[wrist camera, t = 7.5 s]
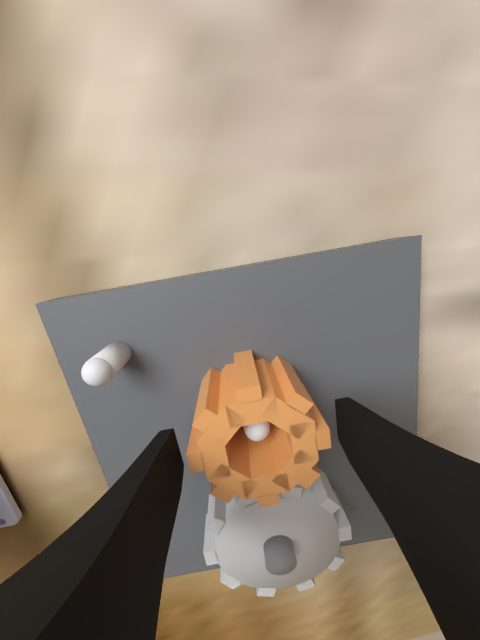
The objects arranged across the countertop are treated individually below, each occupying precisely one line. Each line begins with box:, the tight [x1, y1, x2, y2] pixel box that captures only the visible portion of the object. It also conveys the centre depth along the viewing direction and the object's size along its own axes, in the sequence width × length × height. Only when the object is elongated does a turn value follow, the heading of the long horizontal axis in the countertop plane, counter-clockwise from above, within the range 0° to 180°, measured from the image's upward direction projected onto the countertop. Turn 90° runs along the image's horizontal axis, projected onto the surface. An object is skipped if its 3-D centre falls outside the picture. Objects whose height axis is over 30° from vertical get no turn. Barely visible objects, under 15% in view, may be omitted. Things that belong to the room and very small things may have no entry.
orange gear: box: [186, 350, 331, 507], centre depth 11 cm, size 6×6×4 cm
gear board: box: [36, 235, 422, 597], centre depth 13 cm, size 18×19×4 cm
